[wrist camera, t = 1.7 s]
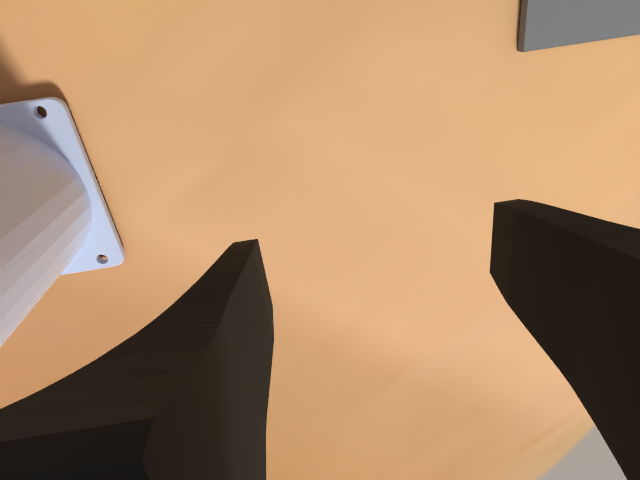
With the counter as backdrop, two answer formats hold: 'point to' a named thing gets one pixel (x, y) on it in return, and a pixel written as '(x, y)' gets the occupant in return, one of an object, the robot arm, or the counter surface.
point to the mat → (575, 22)
